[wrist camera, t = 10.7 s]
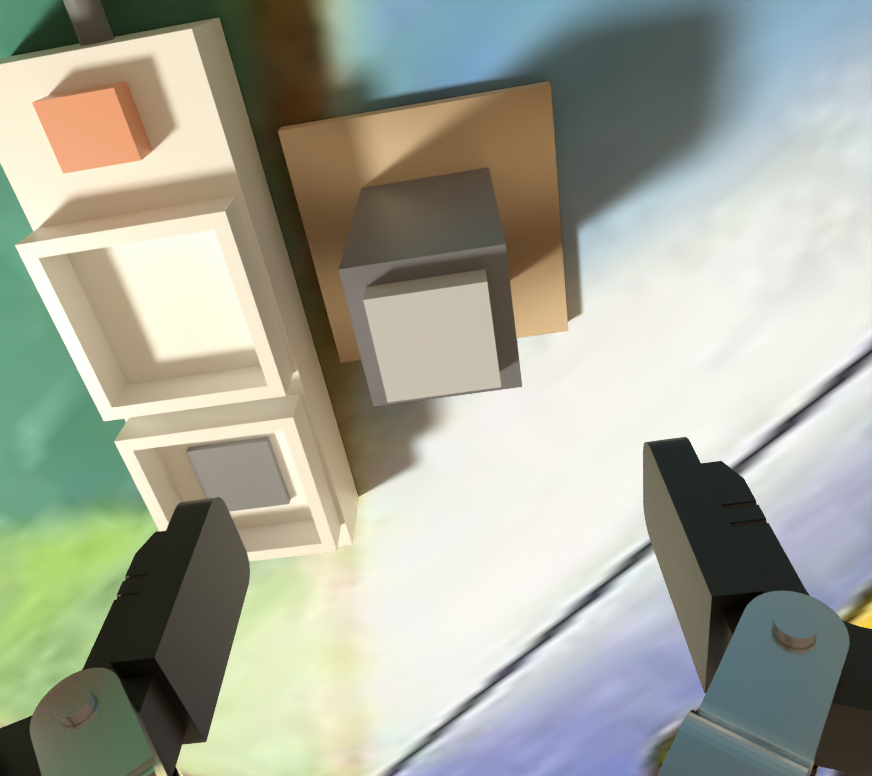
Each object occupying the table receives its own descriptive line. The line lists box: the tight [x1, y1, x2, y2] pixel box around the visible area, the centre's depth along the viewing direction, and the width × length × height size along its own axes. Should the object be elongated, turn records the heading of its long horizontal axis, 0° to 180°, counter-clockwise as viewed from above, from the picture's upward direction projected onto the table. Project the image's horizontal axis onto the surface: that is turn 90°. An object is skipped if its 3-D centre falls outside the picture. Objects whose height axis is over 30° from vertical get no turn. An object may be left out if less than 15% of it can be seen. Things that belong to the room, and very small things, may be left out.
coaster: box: [278, 81, 568, 363], centre depth 26 cm, size 9×9×1 cm
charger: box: [339, 167, 522, 407], centre depth 22 cm, size 4×4×8 cm
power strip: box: [0, 0, 359, 561], centre depth 25 cm, size 24×7×4 cm, turn 9°
